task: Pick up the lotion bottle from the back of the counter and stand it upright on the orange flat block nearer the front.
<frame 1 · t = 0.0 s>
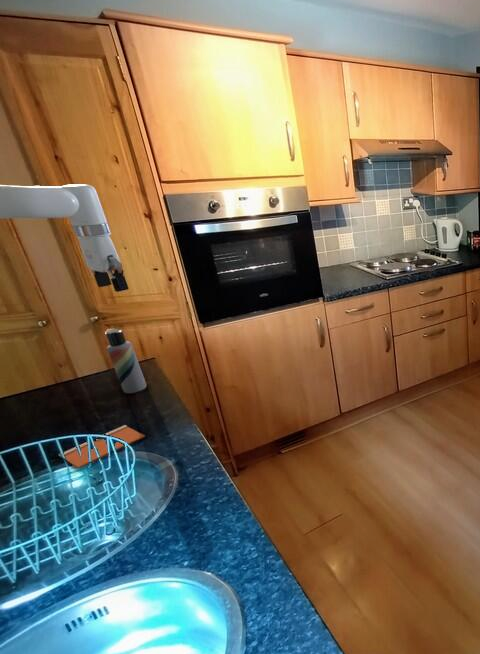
hand: (113, 288, 135), 30 cm above the worktop, tool pointing down, fingers open, 9 cm apart
lotion bottle: (135, 389, 140), on the worktop
orange flat block: (103, 445, 114), on the worktop
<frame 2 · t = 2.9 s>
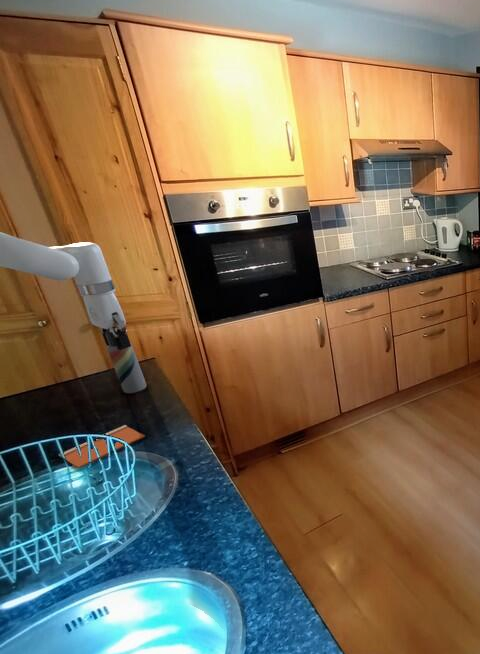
hand: (118, 345, 134), 15 cm above the worktop, tool pointing down, fingers closed on lotion bottle, 5 cm apart
lotion bottle: (135, 389, 140), on the worktop, touching gripper
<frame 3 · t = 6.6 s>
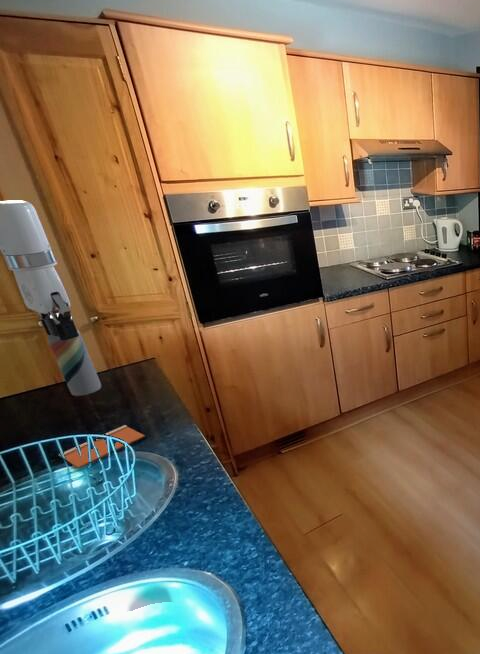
hand: (63, 335, 105), 29 cm above the worktop, tool pointing down, fingers closed on lotion bottle, 5 cm apart
lotion bottle: (87, 391, 111), point 14 cm above the worktop, touching gripper
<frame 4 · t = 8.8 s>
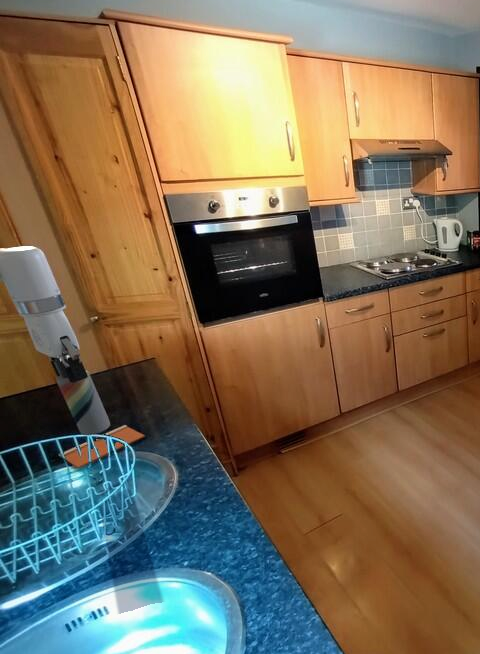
hand: (72, 376, 106), 20 cm above the worktop, tool pointing down, fingers closed on lotion bottle, 5 cm apart
lotion bottle: (96, 429, 112), point 5 cm above the worktop, touching gripper
when the fingers open (15 cm above the worktop, at t = 10.4 s): lotion bottle stays where it is, resting on orange flat block.
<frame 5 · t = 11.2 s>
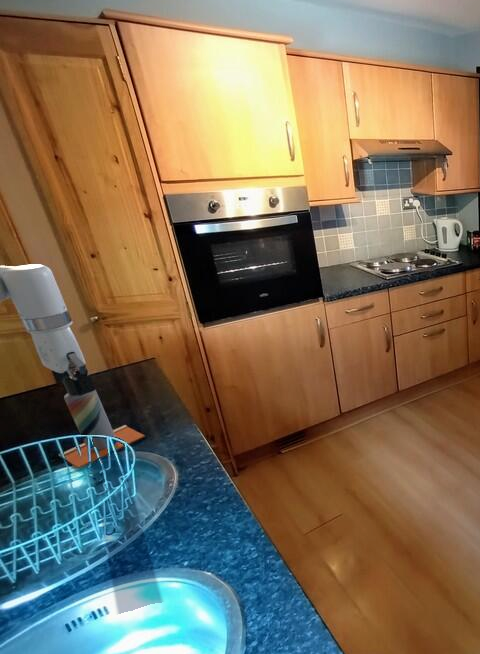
hand: (76, 387, 107), 17 cm above the worktop, tool pointing down, fingers open, 9 cm apart
lotion bottle: (102, 445, 114), resting on orange flat block
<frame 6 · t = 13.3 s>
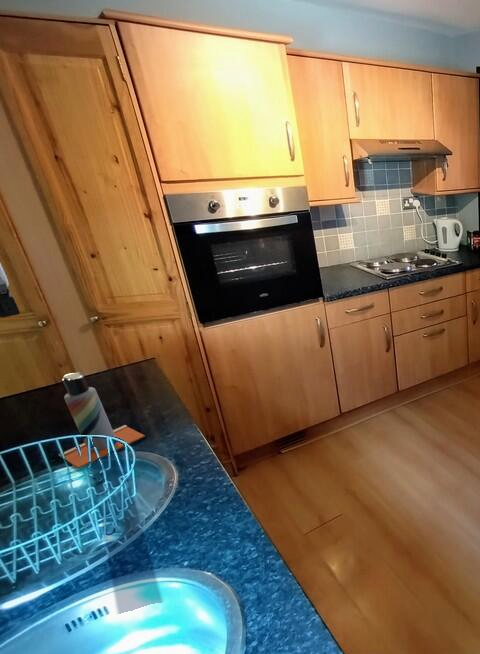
hand: (2, 311, 103), 35 cm above the worktop, tool pointing down, fingers open, 9 cm apart
nothing on the worktop moved.
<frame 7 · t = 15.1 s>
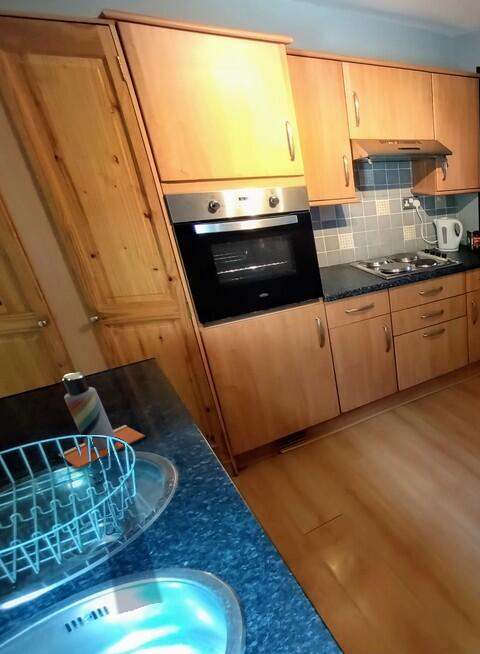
nothing on the worktop moved.
at the end: lotion bottle inside the target area on the orange flat block (0.1 cm from its centre), point 0.2 cm above the orange flat block's base; lotion bottle tilted 0° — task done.
